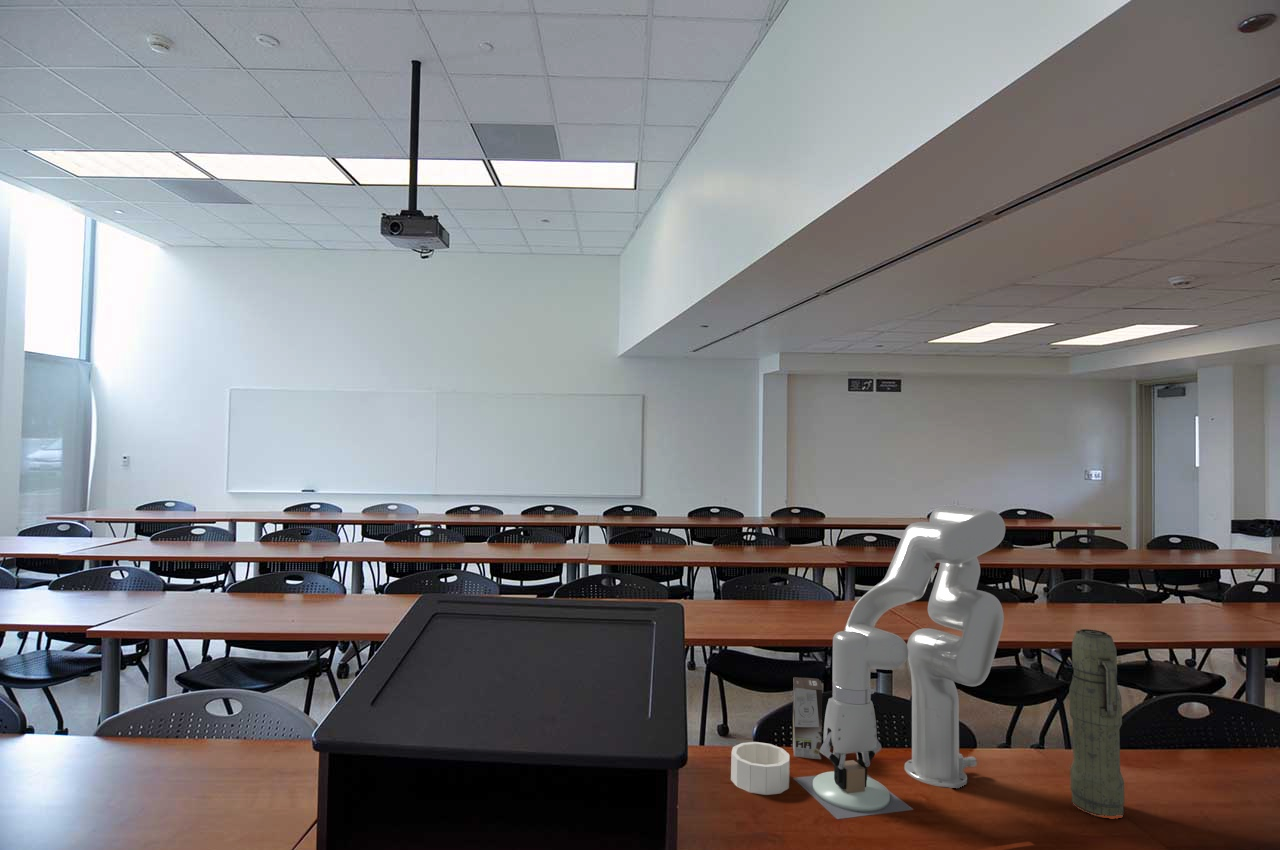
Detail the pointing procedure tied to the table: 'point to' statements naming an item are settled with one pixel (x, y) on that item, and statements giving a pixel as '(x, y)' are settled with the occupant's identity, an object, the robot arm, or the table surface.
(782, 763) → the bowl
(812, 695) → the coffee box
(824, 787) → the lid
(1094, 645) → the thermos
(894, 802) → the mat
